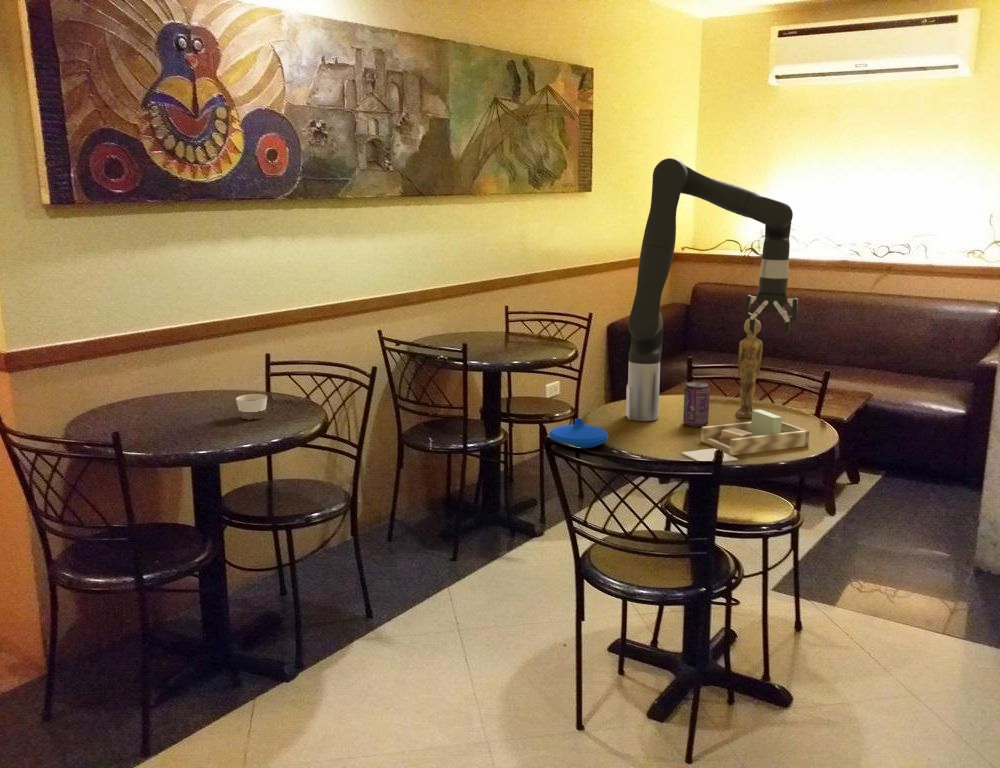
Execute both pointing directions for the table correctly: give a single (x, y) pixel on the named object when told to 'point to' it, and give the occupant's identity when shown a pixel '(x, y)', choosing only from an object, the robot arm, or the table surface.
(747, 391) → the sculpture
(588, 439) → the blue rounded knobbed disc
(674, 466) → the table surface
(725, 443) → the offcut lower
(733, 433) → the offcut upper
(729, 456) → the mat
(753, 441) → the tray
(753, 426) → the block
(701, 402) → the beverage can
